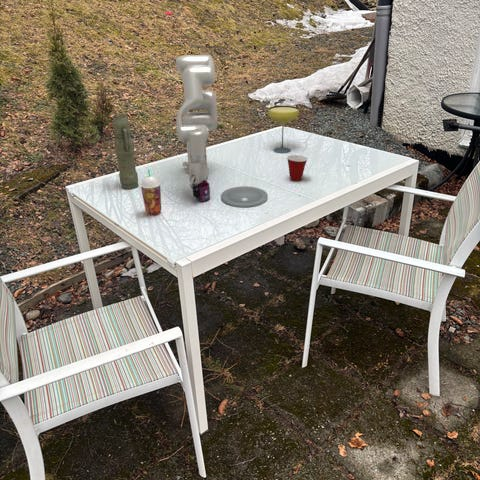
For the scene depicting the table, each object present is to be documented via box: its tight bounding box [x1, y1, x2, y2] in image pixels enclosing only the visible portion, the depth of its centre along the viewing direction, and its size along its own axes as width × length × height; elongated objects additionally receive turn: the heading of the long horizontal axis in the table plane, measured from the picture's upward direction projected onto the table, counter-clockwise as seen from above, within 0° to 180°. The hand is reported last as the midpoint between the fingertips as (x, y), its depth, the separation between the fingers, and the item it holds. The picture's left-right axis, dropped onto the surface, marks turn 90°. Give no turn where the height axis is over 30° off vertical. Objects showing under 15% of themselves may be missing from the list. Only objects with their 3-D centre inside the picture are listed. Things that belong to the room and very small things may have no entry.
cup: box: [195, 181, 211, 202], centre depth 206 cm, size 7×10×7 cm
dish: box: [220, 185, 269, 209], centre depth 207 cm, size 22×22×1 cm
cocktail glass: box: [267, 105, 300, 154], centre depth 263 cm, size 18×18×25 cm
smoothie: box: [140, 169, 162, 216], centre depth 190 cm, size 8×8×20 cm
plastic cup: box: [286, 154, 309, 182], centre depth 225 cm, size 11×11×12 cm
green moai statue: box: [112, 114, 140, 191], centre depth 213 cm, size 9×12×35 cm
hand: (200, 193), depth 206 cm, fingers closed on cup, 6 cm apart
